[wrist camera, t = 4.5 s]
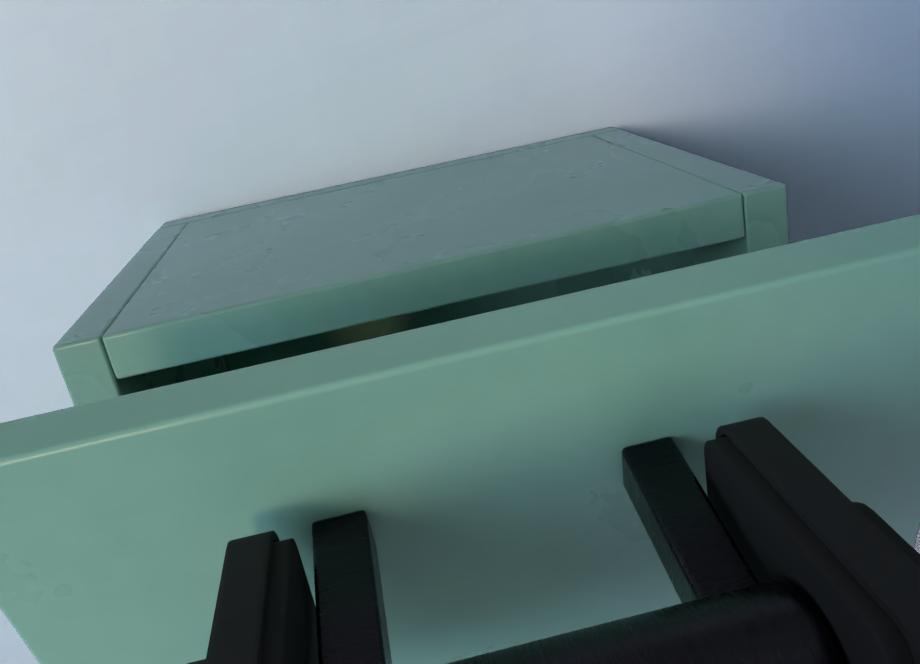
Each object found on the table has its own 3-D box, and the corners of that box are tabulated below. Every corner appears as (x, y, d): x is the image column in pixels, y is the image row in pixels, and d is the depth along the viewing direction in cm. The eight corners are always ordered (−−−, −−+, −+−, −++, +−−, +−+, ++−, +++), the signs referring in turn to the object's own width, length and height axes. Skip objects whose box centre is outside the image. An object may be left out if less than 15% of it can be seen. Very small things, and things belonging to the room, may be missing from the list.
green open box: (162, 222, 23) (49, 347, 14) (612, 126, 24) (787, 183, 15) (306, 674, 28) (294, 979, 19) (669, 582, 29) (822, 832, 20)
